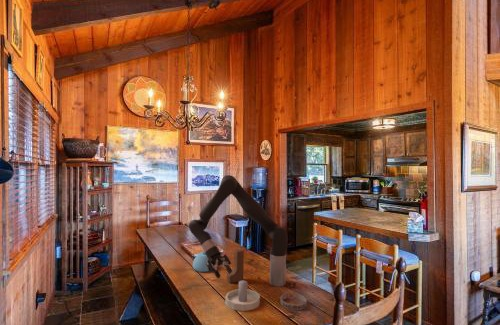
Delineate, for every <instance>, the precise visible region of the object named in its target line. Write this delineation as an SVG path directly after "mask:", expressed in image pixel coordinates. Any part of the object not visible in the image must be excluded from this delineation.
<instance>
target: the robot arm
mask: <svg viewBox="0 0 500 325" xmlns="http://www.w3.org/2000/svg"><path fill="white" fill-rule="evenodd" d="M231 195H232V196H233V197H234V198H235V199H236V200H237V202H238V204H239V206H240V207H241V209H242V211H244V213H245V214H246V215H247V216H248V217H249V218H250V219H251V220H253V221H254V223H256V224H257V225H259V227H261V228H262V229H263V231H265V233H266V234H267V235H268V237H269V238H270V239H271V248H270V250H269V284H270V285H271V286H274V287H283V286H286V283H287V266H286V264H287V263H286V262H287V258H286V257H287V254H286V253H287V250H288V236H289V235H288V231H287V230H286V229H285V228H283V227H281V226H280V225H278V224H277V223H276V222H275V220H273V219H272V218H271V217H270V216H269V214H268V213H267V211H266V210H265V208H263V207H262V205H261V204H260V203H259V202H258V201H257V200H256V199H255V198H254V197H253V196H252V195H251V194H250V193H248V191H246V190H245V188H244V187H243V186H242V185H241V184H240V182H239V181H238V180H237V179H236V178H235V176H233V175H230V174H227V175H224V176H223V177H222V178H221V180H220V184H219V187H218V189H217V191H216V192H215V193H214V195H213V196H212V197H211V199H210V200H209V201H208V202H207V203H206V204H205V205H204V207H203V208H202V209H201V210H200V212H199V219H192V220H190V221H189V222H188V223H189V224H188V229H189V231H190V232H191V234H192V235H193V236H194V237H195V238H196V239H197V241H198V242H199V245H200V246H201V248H202V251H204V253H205V254H206V256H207V258H208V261H207V262H206V265H207V267H208V269H209V272H210V273H213V274H214V275H215V277H216V278H217V279H220V278H221V277H222V276H221V274H220V272H219V270H218V267H224V268H225V270H226V272H227V273H229V274H230V273H231V272H232V270H233V269H232V268H231V266H230V265H231V264H232V262H231V260H230V259H229V257H228V255H227V254H224V255H223V256H222V255H221V251H220V250H219V248H218V246H217V244H216V242H215V241H214V239H213V238H212V236H211V235H210V233H209V232H207V231H205V230H206V229H207V227H208V225H209V223H210V220H211V219H212V217H213V216H214V215H215V214H216V212H217V211H218V210H219V208H220V207H221V205H222V204H223V203H224V201H225V200H227V198H229V197H230V196H231ZM212 264H213V266H212Z"/></svg>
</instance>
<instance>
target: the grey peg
mask: <svg viewBox="0 0 500 325" xmlns="http://www.w3.org/2000/svg"><path fill="white" fill-rule="evenodd" d="M238 289H239V296H238V300H239V301H240V302H246V301H247V289H248V281H247V280H244V279H243V280H242V281H239V282H238Z"/></svg>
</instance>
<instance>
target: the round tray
mask: <svg viewBox="0 0 500 325" xmlns="http://www.w3.org/2000/svg"><path fill="white" fill-rule="evenodd" d="M238 296H239V288H236V289H232V290H231V291H228V292H227V293H226V294H225V300H224V302H225V305H226V306H227V308H229V309H232V310H233V311H240V312H245V311H251V310H255V309H257V308H258V307H259V306H260V304H261V295H260V293H258V292H257V291H255V290H252V289H248V288H247V301H246V302H240V301H239V300H238Z"/></svg>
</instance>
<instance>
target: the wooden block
mask: <svg viewBox="0 0 500 325" xmlns="http://www.w3.org/2000/svg"><path fill="white" fill-rule="evenodd" d="M233 255H234V256H233V268H232V269H231V270H232V272H231V273H230V274H229V273H228V272H227V274H226V282H228V283H229V284H234V283H239V281H242V280H244V268H245V266H244V260H245V259H244V257H245V256H244V255H245V251H244V250H243V249H241V248H239V249H234V251H233Z"/></svg>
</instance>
